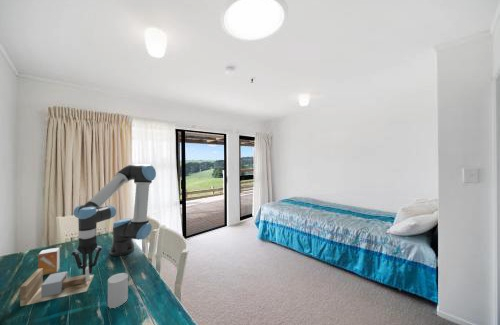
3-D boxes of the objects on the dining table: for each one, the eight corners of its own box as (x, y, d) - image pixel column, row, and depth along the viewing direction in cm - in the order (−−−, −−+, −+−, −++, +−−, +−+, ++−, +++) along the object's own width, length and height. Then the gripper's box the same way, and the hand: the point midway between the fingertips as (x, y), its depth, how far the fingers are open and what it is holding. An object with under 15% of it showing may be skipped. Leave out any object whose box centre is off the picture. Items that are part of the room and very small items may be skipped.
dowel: (87, 281, 110) (87, 274, 110) (85, 285, 106) (85, 278, 106) (63, 286, 105) (63, 278, 105) (60, 290, 102) (60, 283, 101)
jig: (94, 276, 116) (94, 259, 116) (86, 293, 102) (86, 273, 102) (37, 288, 105) (37, 269, 105) (20, 308, 91) (20, 286, 91)
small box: (38, 276, 115) (37, 254, 115) (41, 271, 120) (41, 250, 120) (57, 272, 119) (57, 251, 119) (59, 267, 125) (59, 246, 124)
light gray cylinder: (131, 298, 99) (131, 274, 98) (115, 310, 91) (116, 284, 91) (119, 294, 101) (119, 271, 101) (103, 305, 94) (103, 280, 93)
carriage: (67, 281, 108) (67, 271, 108) (60, 293, 99) (60, 281, 99) (50, 285, 105) (50, 274, 105) (41, 297, 96) (41, 285, 96)
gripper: (103, 232, 114) (103, 272, 114) (74, 235, 108) (74, 278, 108) (101, 236, 107) (101, 280, 108) (69, 241, 101) (69, 286, 102)
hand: (87, 279), depth 108 cm, fingers closed
